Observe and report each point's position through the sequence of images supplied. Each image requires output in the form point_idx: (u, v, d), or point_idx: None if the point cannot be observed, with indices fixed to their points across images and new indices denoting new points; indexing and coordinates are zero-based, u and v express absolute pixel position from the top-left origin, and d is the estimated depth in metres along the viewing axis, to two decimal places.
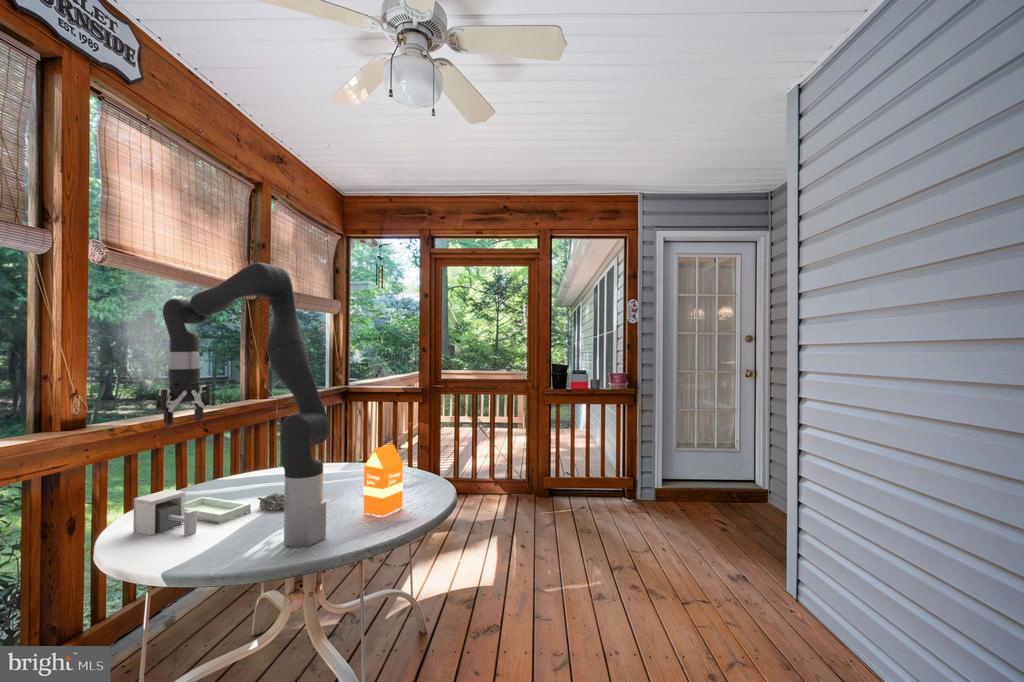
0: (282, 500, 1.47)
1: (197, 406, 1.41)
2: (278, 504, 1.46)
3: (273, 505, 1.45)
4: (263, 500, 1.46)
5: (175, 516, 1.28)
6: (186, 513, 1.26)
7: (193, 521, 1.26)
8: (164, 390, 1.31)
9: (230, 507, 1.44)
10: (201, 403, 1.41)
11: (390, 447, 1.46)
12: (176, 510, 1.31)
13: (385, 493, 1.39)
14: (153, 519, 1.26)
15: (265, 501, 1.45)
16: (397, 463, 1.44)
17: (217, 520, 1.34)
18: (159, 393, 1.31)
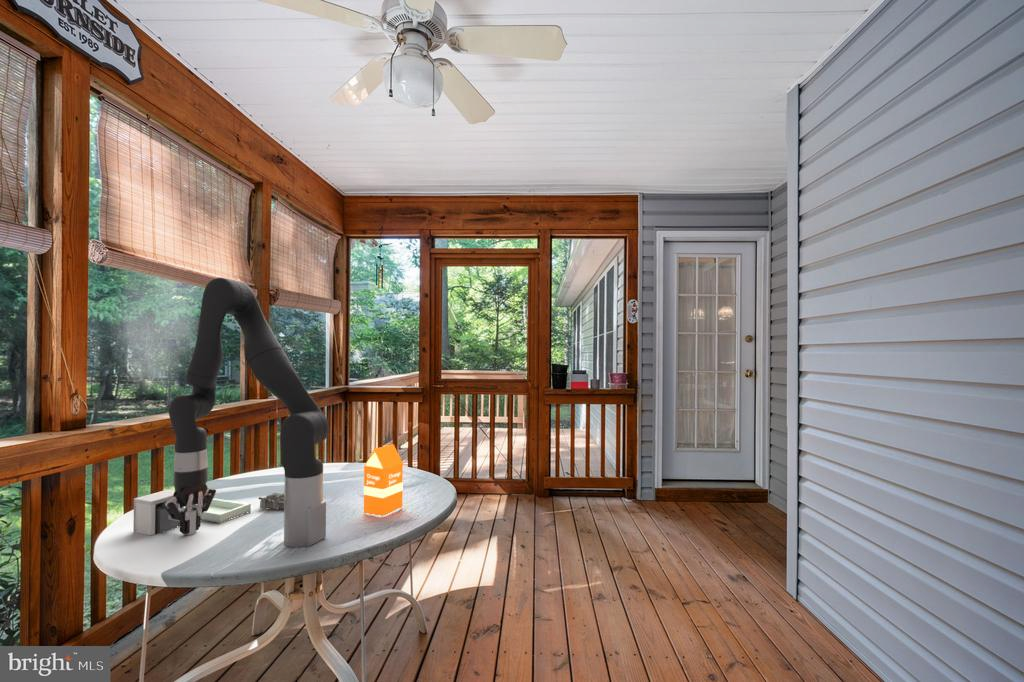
0: (283, 500, 1.48)
1: None
2: (279, 504, 1.46)
3: (274, 505, 1.45)
4: (264, 500, 1.46)
5: None
6: None
7: (193, 521, 1.26)
8: (170, 504, 1.20)
9: (230, 507, 1.44)
10: (198, 511, 1.27)
11: (390, 447, 1.45)
12: None
13: (385, 494, 1.39)
14: (153, 519, 1.26)
15: (266, 501, 1.46)
16: (397, 463, 1.44)
17: (217, 520, 1.34)
18: (166, 507, 1.21)
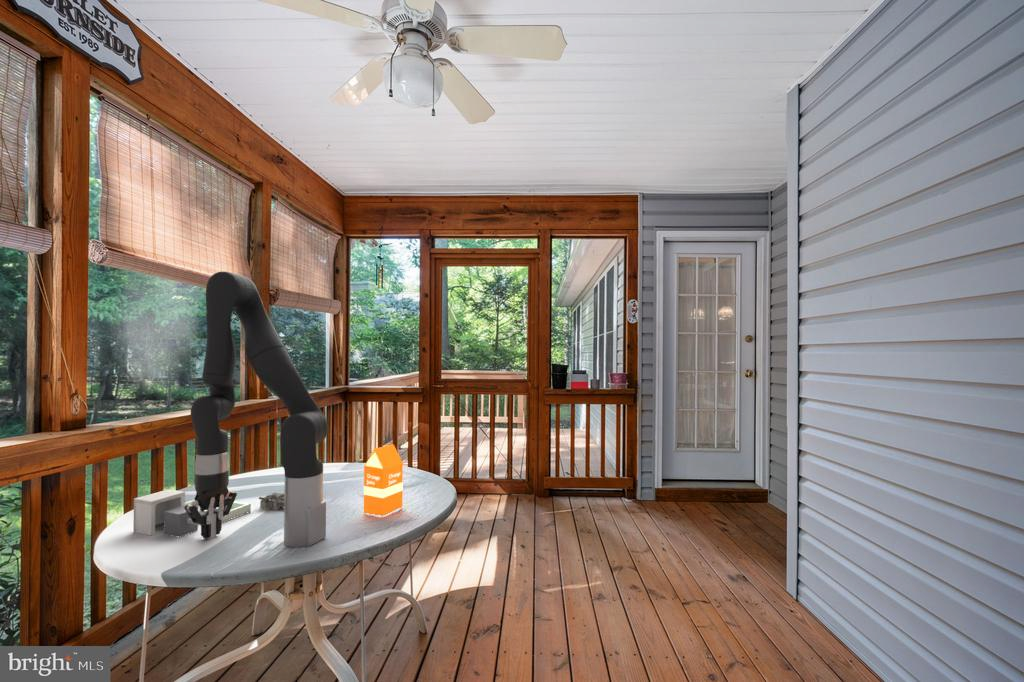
0: (283, 499, 1.48)
1: None
2: (279, 503, 1.47)
3: (274, 504, 1.45)
4: (264, 499, 1.46)
5: None
6: None
7: (213, 525, 1.24)
8: (192, 508, 1.18)
9: None
10: (219, 514, 1.25)
11: (390, 447, 1.45)
12: None
13: (385, 494, 1.39)
14: (153, 519, 1.26)
15: (266, 500, 1.46)
16: (397, 463, 1.44)
17: None
18: (188, 511, 1.18)
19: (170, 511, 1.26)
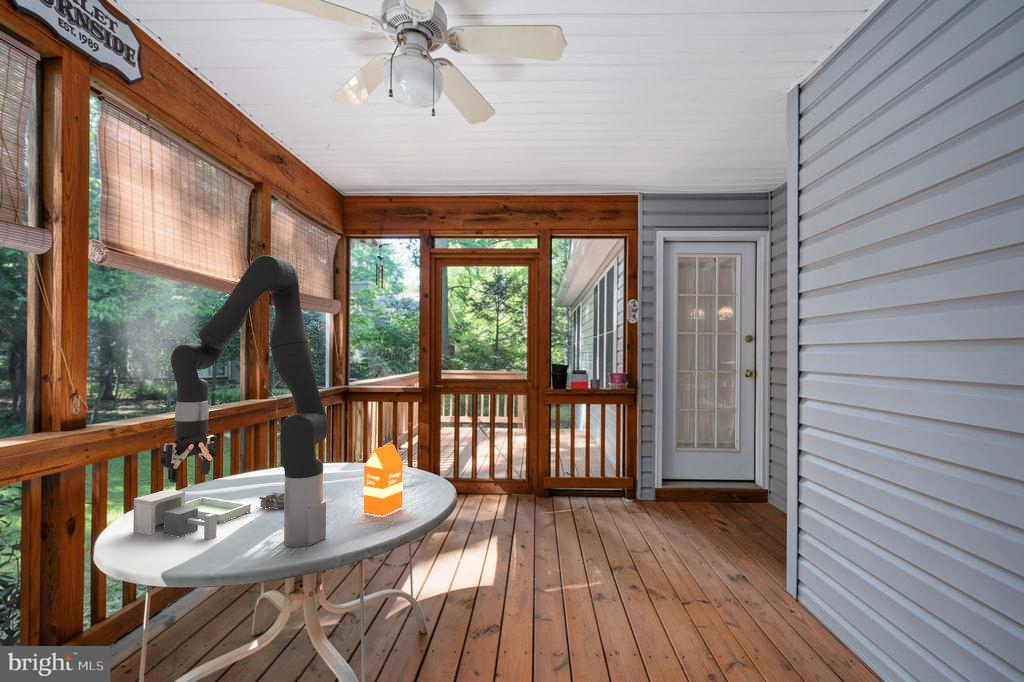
0: (283, 499, 1.48)
1: (204, 458, 1.30)
2: (280, 503, 1.47)
3: (275, 504, 1.46)
4: (264, 499, 1.46)
5: (194, 520, 1.26)
6: (206, 517, 1.23)
7: (213, 525, 1.24)
8: (169, 445, 1.20)
9: (230, 507, 1.44)
10: (208, 455, 1.30)
11: (390, 447, 1.45)
12: (195, 513, 1.28)
13: (385, 494, 1.39)
14: (153, 519, 1.26)
15: (266, 500, 1.46)
16: (397, 463, 1.44)
17: (217, 520, 1.34)
18: (163, 449, 1.20)
19: (170, 511, 1.26)
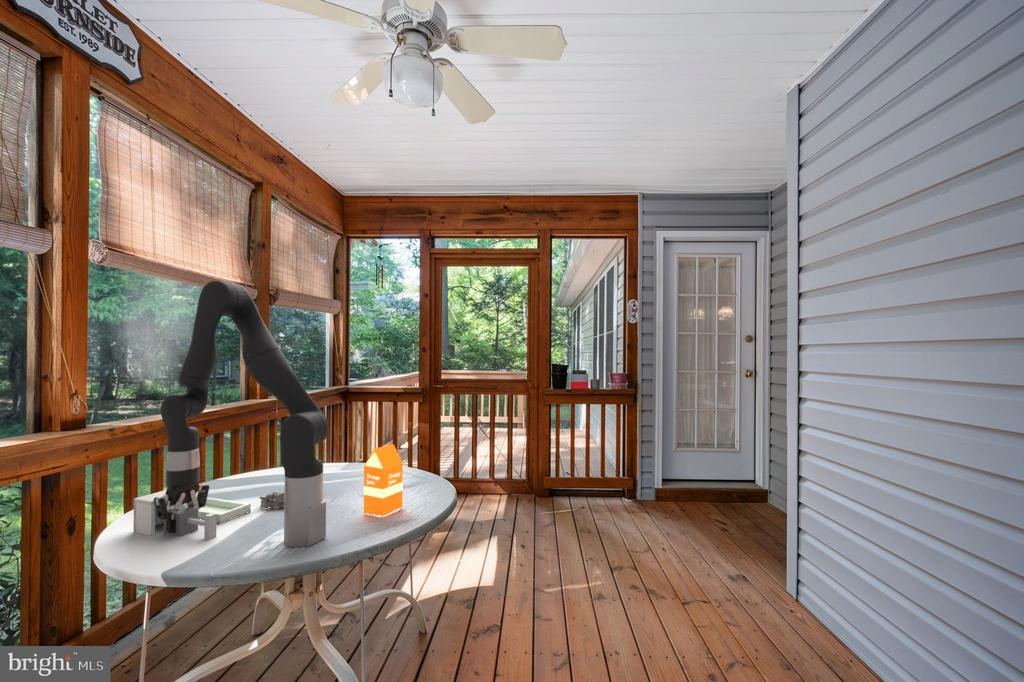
0: None
1: None
2: (280, 503, 1.47)
3: (275, 504, 1.46)
4: (265, 499, 1.47)
5: (195, 519, 1.26)
6: (206, 516, 1.23)
7: (213, 525, 1.24)
8: (161, 500, 1.21)
9: (230, 507, 1.44)
10: (195, 506, 1.30)
11: (390, 447, 1.46)
12: (195, 513, 1.28)
13: (385, 493, 1.39)
14: (153, 519, 1.26)
15: (267, 500, 1.46)
16: (397, 463, 1.44)
17: (217, 520, 1.34)
18: (156, 503, 1.21)
19: None
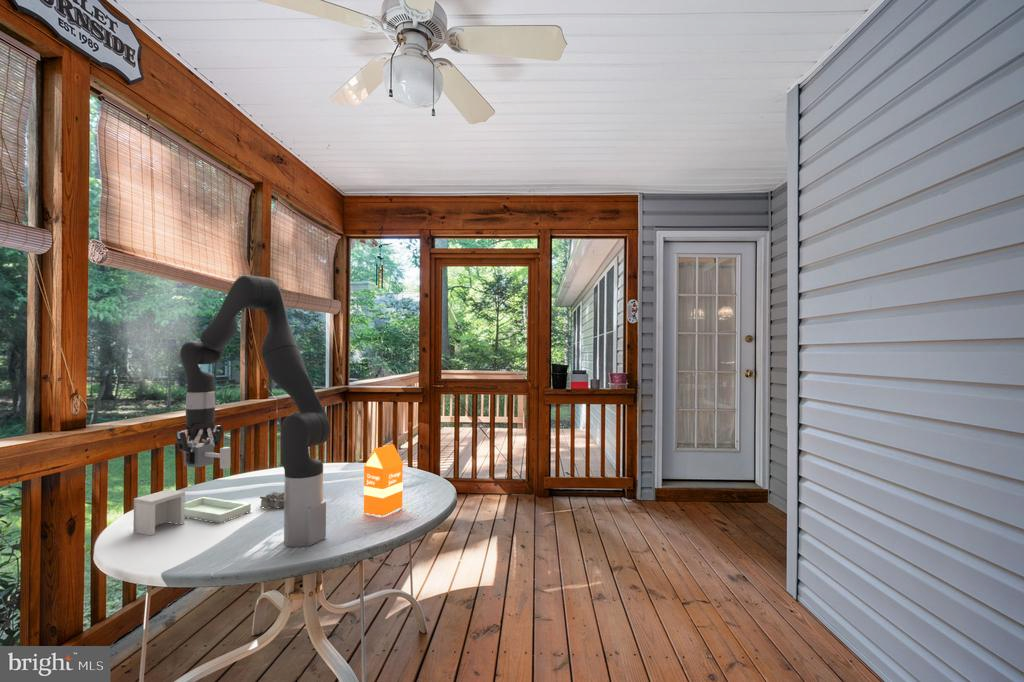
0: None
1: None
2: (281, 502, 1.48)
3: (276, 503, 1.46)
4: (265, 499, 1.47)
5: (211, 453, 1.42)
6: (222, 449, 1.39)
7: (228, 457, 1.40)
8: (182, 433, 1.37)
9: (230, 507, 1.44)
10: (211, 443, 1.46)
11: (390, 447, 1.45)
12: (211, 449, 1.44)
13: (385, 493, 1.39)
14: (153, 519, 1.26)
15: (267, 500, 1.47)
16: (397, 463, 1.44)
17: (217, 520, 1.34)
18: (178, 437, 1.38)
19: None
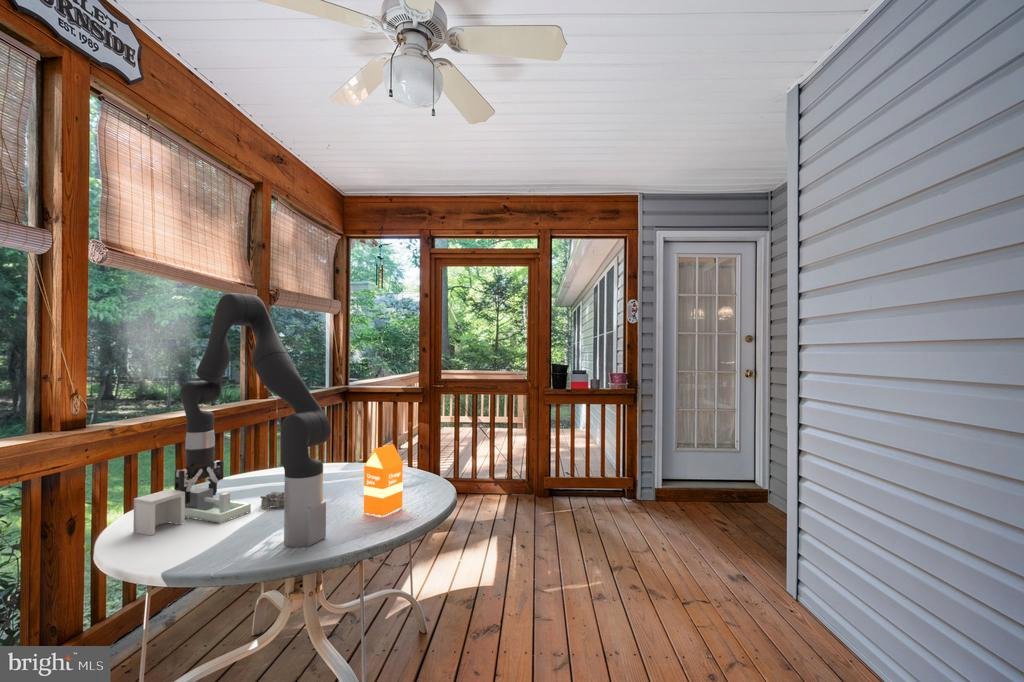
0: None
1: (211, 481, 1.47)
2: (281, 502, 1.48)
3: (277, 503, 1.47)
4: (265, 498, 1.47)
5: (210, 498, 1.42)
6: (221, 495, 1.39)
7: (227, 502, 1.40)
8: (181, 471, 1.37)
9: (230, 507, 1.44)
10: (215, 479, 1.47)
11: (390, 447, 1.46)
12: (211, 493, 1.44)
13: (385, 493, 1.39)
14: (153, 519, 1.26)
15: (268, 499, 1.47)
16: (397, 463, 1.44)
17: (217, 520, 1.34)
18: (176, 475, 1.37)
19: None
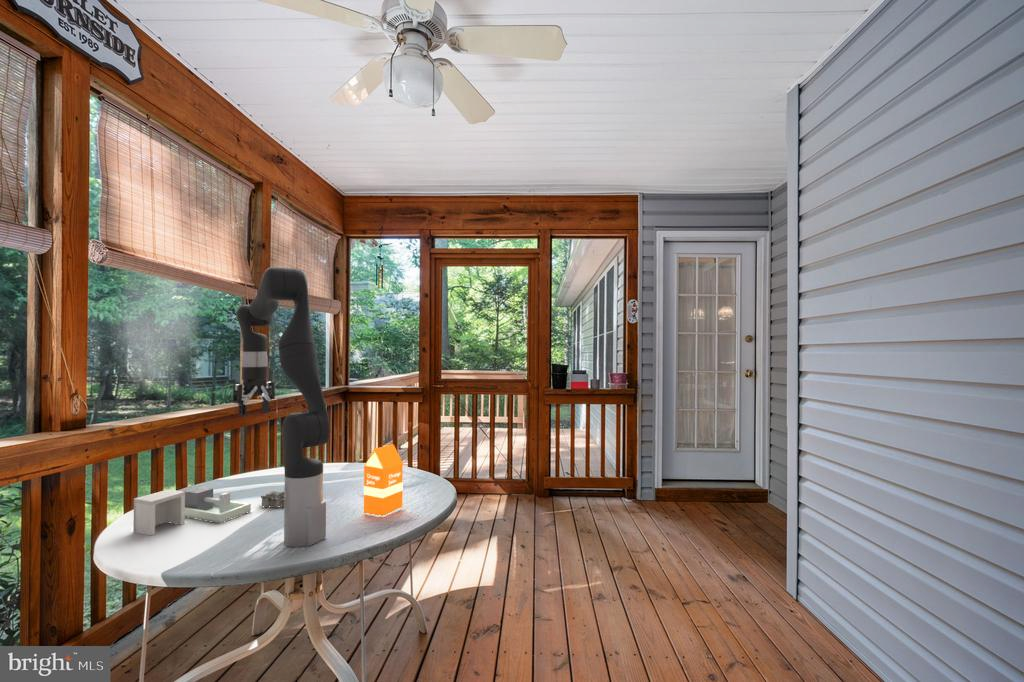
0: None
1: (264, 400, 1.59)
2: (282, 501, 1.49)
3: (277, 502, 1.47)
4: (266, 498, 1.47)
5: (210, 498, 1.42)
6: (221, 495, 1.39)
7: (227, 502, 1.40)
8: (240, 385, 1.49)
9: (230, 507, 1.44)
10: (268, 397, 1.59)
11: (390, 447, 1.45)
12: (211, 493, 1.44)
13: (385, 493, 1.39)
14: (153, 519, 1.26)
15: (268, 499, 1.47)
16: (397, 463, 1.44)
17: (217, 520, 1.34)
18: (235, 388, 1.49)
19: (189, 491, 1.42)
